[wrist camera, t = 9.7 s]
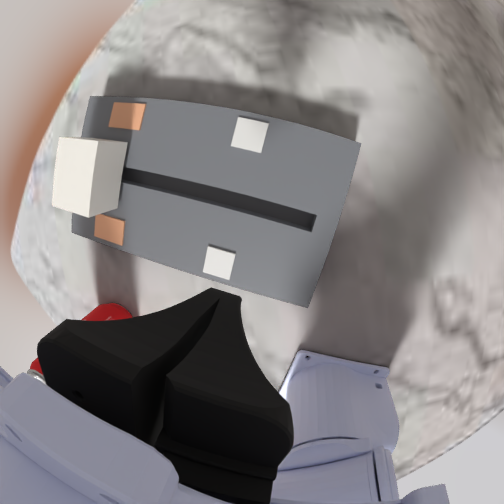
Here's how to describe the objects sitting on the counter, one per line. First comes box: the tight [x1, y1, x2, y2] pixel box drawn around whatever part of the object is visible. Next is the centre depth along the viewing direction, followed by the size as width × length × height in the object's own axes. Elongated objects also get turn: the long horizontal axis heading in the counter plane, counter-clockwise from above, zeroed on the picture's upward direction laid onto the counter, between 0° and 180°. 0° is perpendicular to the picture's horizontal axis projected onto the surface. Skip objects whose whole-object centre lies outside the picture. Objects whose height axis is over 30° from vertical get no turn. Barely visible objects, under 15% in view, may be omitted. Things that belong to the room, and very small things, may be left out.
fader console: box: [72, 96, 361, 308], centre depth 19 cm, size 21×12×2 cm, turn 76°
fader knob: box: [52, 137, 128, 218], centre depth 17 cm, size 4×5×5 cm
